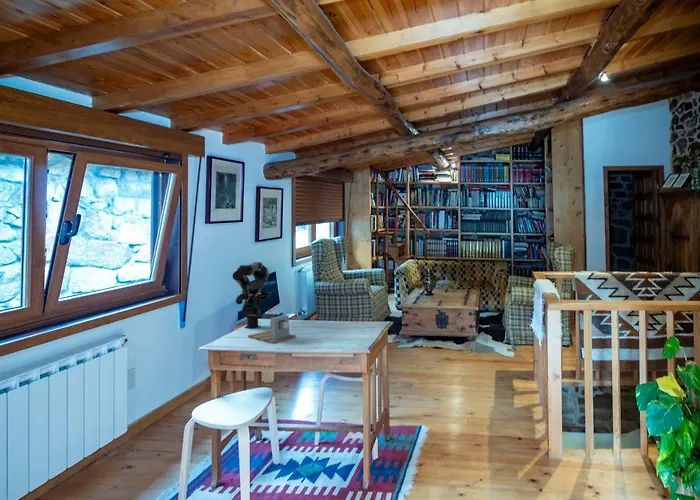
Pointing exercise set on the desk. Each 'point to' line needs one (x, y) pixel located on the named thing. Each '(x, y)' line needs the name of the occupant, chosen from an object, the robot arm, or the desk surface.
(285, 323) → the gold rounded piece
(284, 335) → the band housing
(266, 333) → the walnut board
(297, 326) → the desk surface
